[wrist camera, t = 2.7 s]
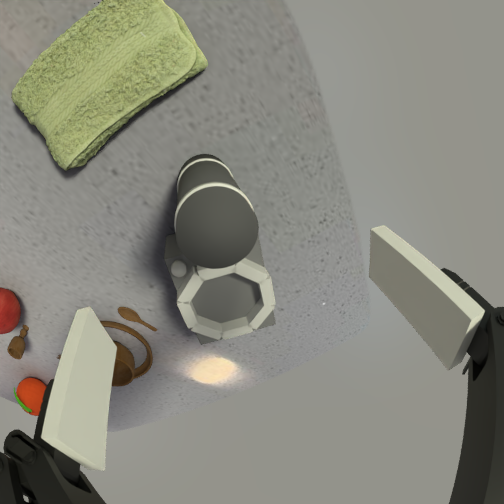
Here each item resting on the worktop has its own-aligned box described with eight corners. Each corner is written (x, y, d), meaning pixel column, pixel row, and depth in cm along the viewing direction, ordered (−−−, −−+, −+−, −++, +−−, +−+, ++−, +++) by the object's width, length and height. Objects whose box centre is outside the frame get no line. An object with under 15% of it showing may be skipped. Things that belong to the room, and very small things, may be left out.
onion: (25, 316, 31) (6, 356, 24) (-6, 297, 28) (-28, 335, 21) (31, 288, 29) (8, 330, 22) (-2, 268, 27) (-29, 305, 20)
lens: (185, 208, 30) (188, 279, 18) (172, 161, 27) (162, 205, 16) (234, 195, 30) (266, 257, 19) (223, 147, 27) (251, 181, 16)
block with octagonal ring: (266, 297, 38) (280, 331, 32) (196, 317, 37) (200, 353, 31) (248, 213, 31) (263, 239, 26) (164, 236, 30) (161, 268, 25)
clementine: (11, 370, 35) (1, 400, 29) (29, 362, 35) (19, 395, 29) (41, 395, 39) (34, 425, 33) (61, 389, 39) (54, 421, 33)
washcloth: (214, 66, 23) (218, 61, 21) (75, 174, 25) (64, 183, 23) (145, -22, 17) (142, -34, 14) (14, 90, 19) (-2, 91, 16)
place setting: (117, 387, 42) (115, 416, 37) (16, 326, 32) (4, 353, 27) (180, 336, 39) (182, 368, 34) (58, 250, 29) (40, 278, 24)
